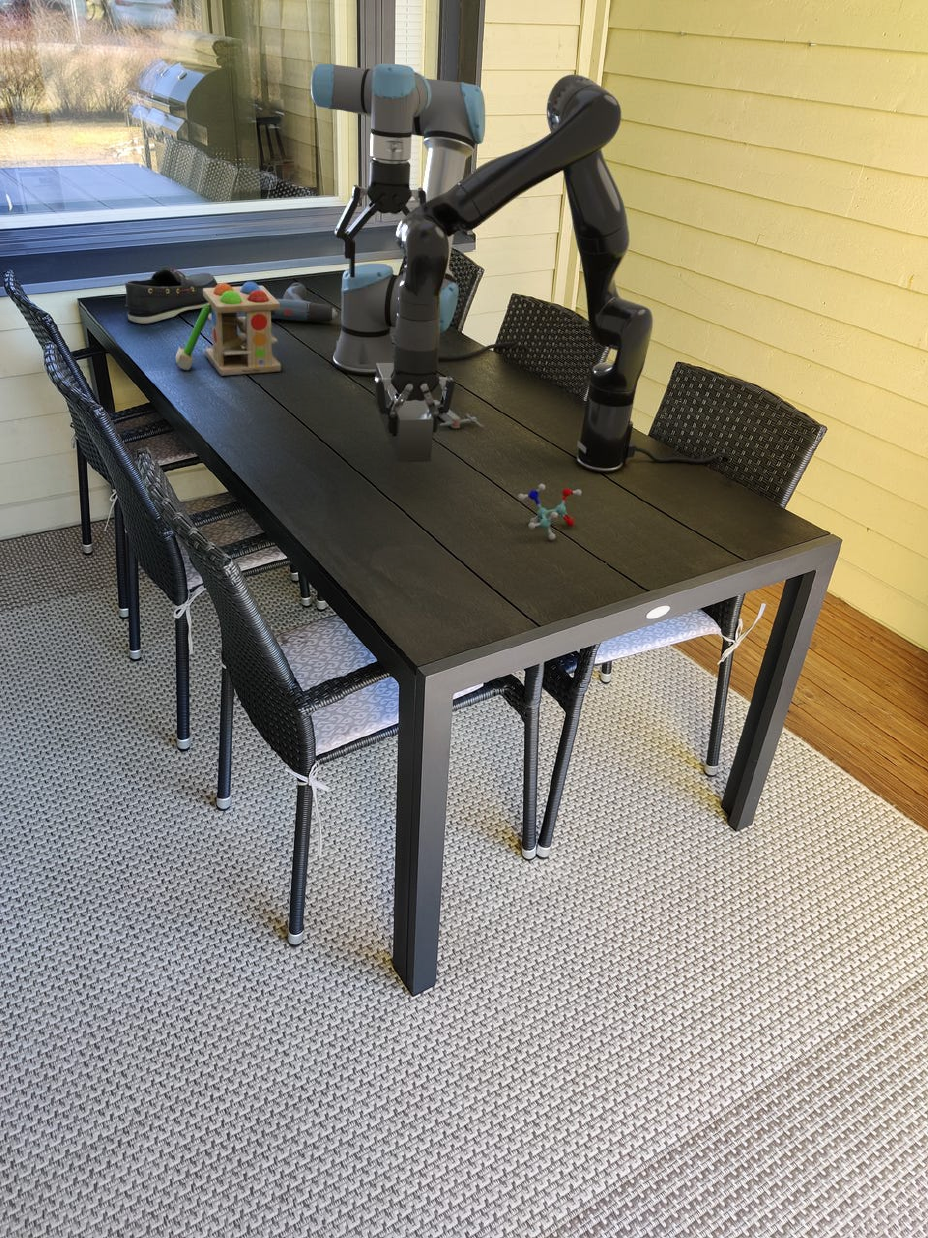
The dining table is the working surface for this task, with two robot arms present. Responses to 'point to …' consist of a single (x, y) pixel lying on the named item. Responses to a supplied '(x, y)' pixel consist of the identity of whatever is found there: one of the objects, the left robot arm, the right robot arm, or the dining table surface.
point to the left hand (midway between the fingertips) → (386, 276)
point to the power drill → (301, 307)
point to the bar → (408, 424)
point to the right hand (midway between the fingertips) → (411, 434)
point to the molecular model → (554, 512)
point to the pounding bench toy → (229, 347)
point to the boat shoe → (166, 295)
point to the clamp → (455, 418)
